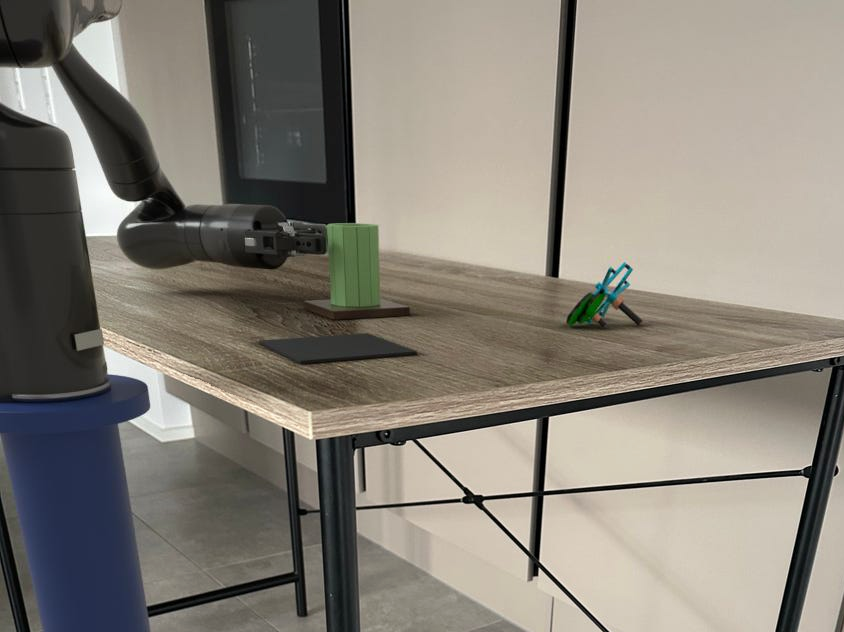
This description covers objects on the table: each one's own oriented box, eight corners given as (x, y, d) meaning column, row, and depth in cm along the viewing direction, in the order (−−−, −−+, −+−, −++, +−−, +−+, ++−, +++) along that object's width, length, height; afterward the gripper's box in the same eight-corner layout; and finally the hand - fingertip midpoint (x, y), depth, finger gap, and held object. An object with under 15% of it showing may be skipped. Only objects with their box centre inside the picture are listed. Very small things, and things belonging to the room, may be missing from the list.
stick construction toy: (600, 296, 117) (629, 246, 111) (642, 332, 117) (673, 285, 110) (547, 334, 110) (574, 284, 104) (590, 374, 110) (621, 325, 103)
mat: (300, 364, 87) (300, 360, 86) (259, 343, 96) (259, 340, 96) (417, 354, 92) (417, 351, 92) (367, 335, 101) (367, 333, 101)
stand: (333, 320, 111) (329, 237, 107) (304, 309, 119) (299, 231, 114) (410, 315, 115) (408, 235, 111) (376, 305, 123) (374, 230, 119)
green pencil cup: (342, 308, 113) (339, 226, 109) (324, 301, 117) (320, 223, 113) (388, 305, 116) (386, 225, 112) (368, 299, 120) (365, 223, 116)
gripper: (202, 205, 114) (307, 210, 107) (280, 203, 125) (379, 207, 118) (209, 271, 117) (311, 280, 110) (284, 263, 128) (381, 271, 121)
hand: (346, 242), depth 114 cm, fingers open, 8 cm apart
